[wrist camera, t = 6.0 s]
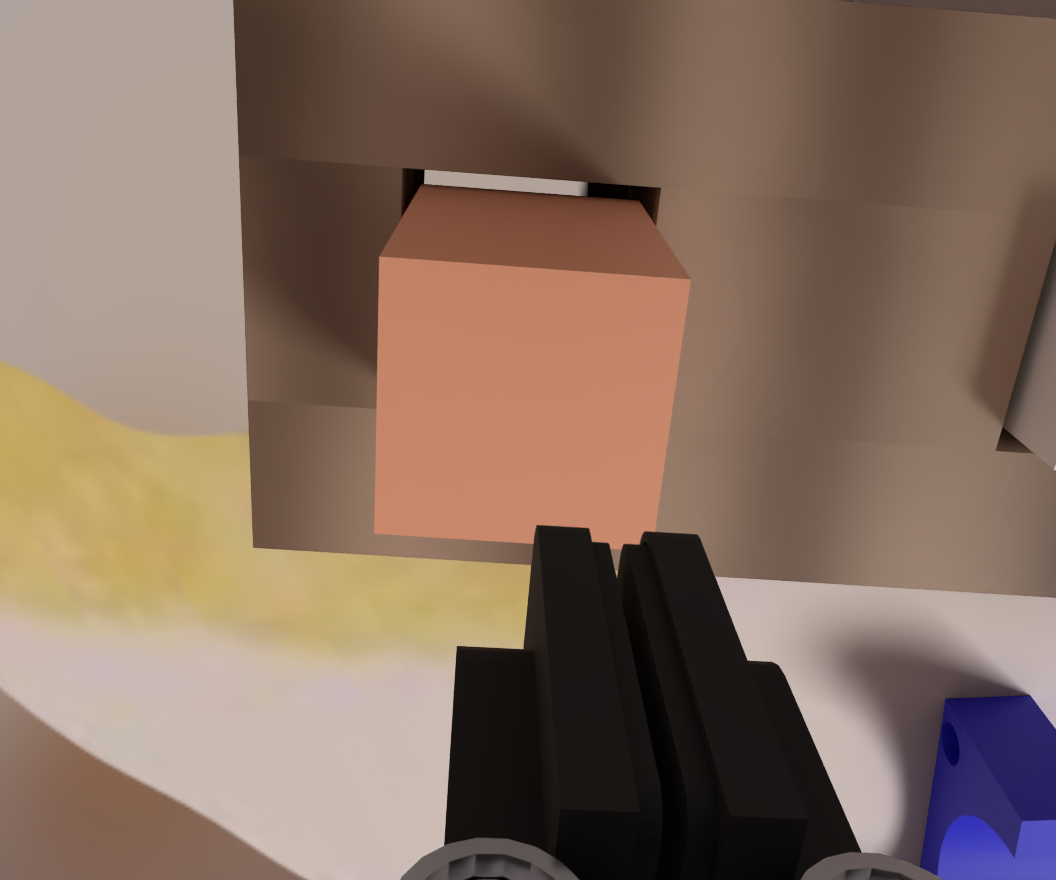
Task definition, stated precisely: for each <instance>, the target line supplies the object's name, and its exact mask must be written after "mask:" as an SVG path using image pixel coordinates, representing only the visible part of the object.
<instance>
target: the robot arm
mask: <svg viewBox="0 0 1056 880" xmlns="http://www.w3.org/2000/svg"><path fill="white" fill-rule="evenodd" d="M401 880H943V879H942V878H940V877H939V876H937V875H935V874H933V873H931V872H928V871H926V870H924V869H922V868H920V867H918V866H916V865H914V864H912V863H910V862H908V861H904V860H900V859H897V858H893V857H889V856H886V855H882V854H878V853H862V852H861V850H860V848H859V845H858V843H857V841H856V838H855V836H854V834H853V832H852V829H851V827H850V825H849V822H848V820H847V818H846V815H845V813H844V811H843V808H842V806H841V804H840V802H839V799H838V797H837V795H836V792H835V790H834V788H833V785H832V783H831V781H830V779H829V776H828V774H827V772H826V769H825V767H824V765H823V762H822V760H821V758H820V756H819V753H818V751H817V749H816V746H815V744H814V742H813V739H812V737H811V735H810V732H809V730H808V728H807V726H806V723H805V721H804V719H803V716H802V714H801V712H800V709H799V707H798V705H797V703H796V700H795V698H794V696H793V693H792V691H791V689H790V686H789V684H788V682H787V679H786V677H785V675H784V673H783V672H782V670H781V668H780V667H779V665H777V664H775V663H773V662H762V661H747V658H746V656H745V653H744V650H743V648H742V645H741V643H740V640H739V637H738V635H737V632H736V630H735V627H734V624H733V622H732V619H731V617H730V614H729V612H728V609H727V606H726V604H725V601H724V599H723V596H722V593H721V591H720V588H719V586H718V583H717V580H716V578H715V575H714V573H713V570H712V568H711V565H710V562H709V560H708V557H707V555H706V552H705V549H704V547H703V544H702V542H701V539H700V537H699V536H698V534H685V533H668V532H651V531H644V533H643V534H642V537H641V540H640V545H639V544H624V545H623V546H622V550H621V554H620V560H619V568H618V575H617V577H616V573H615V568H614V563H613V558H612V554H611V549H610V545H609V543H604V542H592V539H591V533H590V530H589V528H582V527H564V526H547V525H536V529H535V535H534V543H533V554H532V564H531V575H530V585H529V596H528V607H527V617H526V628H525V638H524V649H505V648H485V647H465V646H457V652H456V668H455V684H454V700H453V716H452V731H451V747H450V763H449V779H448V795H447V810H446V826H445V842H444V846H443V847H441V848H439V849H437V850H435V851H433V852H431V853H429V854H428V855H426V856H424V857H422V858H421V859H420V860H419V861H418V862H417V863H416V864H415V865H414V866H413V867H412V868H411V869H409V870H408V871H407V872H406V873H405V874H404V875H403V876H402V878H401Z"/></svg>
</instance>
